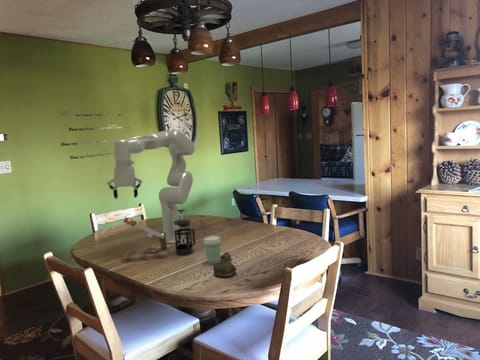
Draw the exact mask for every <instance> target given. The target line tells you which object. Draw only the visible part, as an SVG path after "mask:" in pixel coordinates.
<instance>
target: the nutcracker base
mask: <svg viewBox="0 0 480 360" xmlns="http://www.w3.org/2000/svg"><path fill="white" fill-rule="evenodd" d="M160 233H161V234H162V233H164V232H160ZM164 234H165V238H164V239H161V238H160V237H159V242H160V247H158V248H157V247H156V246H155V244H153V243H151V244H149V245H148V247H147V248H146V249H137V250H129V251H125V252H124V255H123V257H122V263H134V262H143V261H152V260H161V259H168V258H169V247H168V245H167V244H168V243H166V232H165V233H164Z"/></svg>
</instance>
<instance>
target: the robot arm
mask: <svg viewBox="0 0 480 360" xmlns="http://www.w3.org/2000/svg"><path fill="white" fill-rule="evenodd" d="M166 146H167V147H168V151H169V154H170V157H171V160H172V161H171V166H170V169H169V172H168V174H167V177H166V183H167V185H168V186H167V187H166V186H165V187H163V188H161V189H160V190H159V192H158V200H159V203H160V208H161V217H162V229H163V231H162V232H163V233H165V232H166V244H173V243H175V234H174V231H175V230H177V229H181V227H179V226H178V225H175V224H174V223H173V222H174V221H177V220H180V216H179V215H180V214H179V212H178V210H179V208H178V206H177V205H184V204H185V203H186V202H187V200H188V198H189V195H190V192H191V188H192V185H193V182H194V180H193V179H194V177H193V174H192V173H191V171H187V170H186V167H187V161H186V160H185V157H184V156H192V155H193V154H194V153H195V152H196V151H195V149H196V148H195V144H194V143H193V141H192V140H191V139H190V138H189V137H188V136H187V135H186V134H185V133H183V132H182V131H181V130H178V129H171V130H170V129H169V130H168V129H167V130H163V131H157V132H152V133H147V134H144V135H139V136H134V137H129V138H124V139H116V140H114V141H113V151H114V161H115V162H114V163H115V167H114V170H113V179H111V180H109V181H107V182H106V184H107V186H108V187H109V188H110V190H112V192H113V197H114V199H115V200H116V199H117V198H118V197H119V196H118V194H119V193H118V188H122V187H123V188H124V187H125V188H126V187H132V188H133V198H137V197H138V195H139V193H138V190H139V188H140V187H141V185H142V183H143V180H142V179H139V178H137V177H136V174H135V169H134V166H132V165H134V164H135V162H134V161H133V160H132V157H131V154H140V153H143V152H144V151H145V150H147V151H149V150H156V149H160V148H163V147H166ZM137 182H138V183H137ZM112 183H113V185H112ZM136 183H137V184H136ZM176 233H178V232H176ZM184 237H186V235H184ZM181 239H183V235H181ZM177 240H178V235H177Z"/></svg>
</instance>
